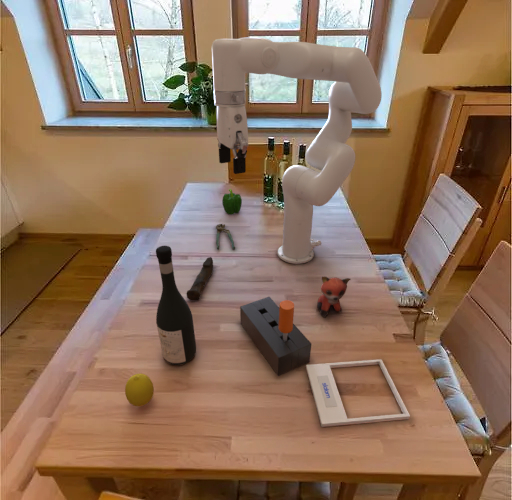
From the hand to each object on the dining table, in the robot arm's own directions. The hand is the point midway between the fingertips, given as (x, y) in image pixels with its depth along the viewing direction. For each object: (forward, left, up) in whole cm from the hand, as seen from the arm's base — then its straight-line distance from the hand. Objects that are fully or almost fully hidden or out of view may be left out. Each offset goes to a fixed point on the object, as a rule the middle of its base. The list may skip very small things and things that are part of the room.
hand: (232, 167), depth 94 cm
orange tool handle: (+4, +35, -36) cm, 50 cm away
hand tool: (+11, -3, -36) cm, 38 cm away
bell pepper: (-19, -45, -36) cm, 61 cm away
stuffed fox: (-17, +25, -36) cm, 48 cm away
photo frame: (-4, +50, -36) cm, 62 cm away
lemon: (+37, +31, -36) cm, 60 cm away
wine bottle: (+26, +22, -36) cm, 50 cm away
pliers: (-7, -26, -36) cm, 45 cm away
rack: (+4, +29, -36) cm, 47 cm away
